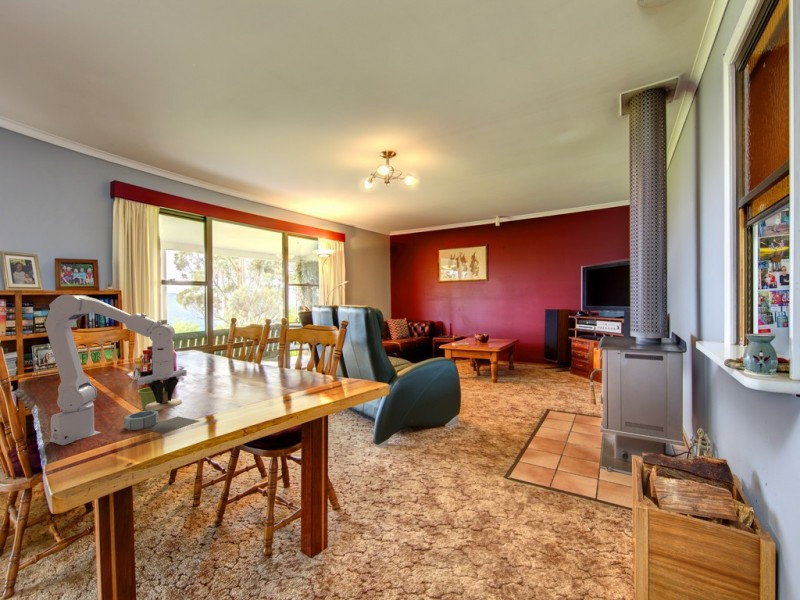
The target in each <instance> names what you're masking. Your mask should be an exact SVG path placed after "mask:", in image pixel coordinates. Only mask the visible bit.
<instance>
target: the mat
mask: <svg viewBox="0 0 800 600" xmlns="http://www.w3.org/2000/svg"><path fill="white" fill-rule="evenodd" d="M199 422H200V420H198V419H193V418H188V417H182V416H175V417H171V418H169V419H165V420H162V421H158V422H157V423H156V424H155V425H153V426H150V427H147V428H142V429H141V430H146V431H150V432H154V433H158V434H163V435H164V434H168V433H171V432H173V431H177V430H179V429H182V428H184V427H188V426H190V425H193V424H196V423H199Z"/></svg>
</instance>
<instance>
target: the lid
mask: <svg viewBox="0 0 800 600" xmlns="http://www.w3.org/2000/svg"><path fill="white" fill-rule="evenodd" d="M182 403H183V401H182V399H178V398H171V401H168V392H163V402H162V403H156V402H152V403H150V404H147V405H146V406H145V408H146V409H147V410H160V409H163V410H166V409H171V408H174V407H178V406H180V405H181V404H182Z"/></svg>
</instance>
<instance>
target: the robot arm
mask: <svg viewBox="0 0 800 600" xmlns="http://www.w3.org/2000/svg"><path fill="white" fill-rule="evenodd" d="M87 314H97V315H99V316H103V317H106V318H109V319H111V320H115V321H117V322H120V323H123V324H124V325H125V328H126V330H129V331H131V332H134V333H136V334H138V335H141V336H144V337H146V338H149V339H150V340H151V341H152V351H151V352H152V374H150V375H146V376H143V377H138V378H137V385H138V386H145V385H146V384H147V385H148V387H150V388H151V390H152V392H153V394H154V396H155V399H156V403H162V402H163V388H164V389H165V392H168V401H171V399H173V394H174V392H175V388H176V387H177V384H178V383H179V380H180V377H185V376H187V375H188V374H187V369H179V370H174V369H175V367H174V342H173V338H174V337H175V333H176V331H175V329H174V327H173V326H172V325H170V324H169V323H162V321H161V320H155V319H152V318H150V317H148V315H147V314H146V313H144V312H143V313H134V314H130V313H128V312H126V311H123V310H122V309H119V308H117V307H115V306H113V305H110V304H109V303H107V302H104V301H102V300H99V299H97V298H94V297H90V296H88V295H85V294H77V295H76V294H73V295H72V294H62V295H59V296H57V297H56V298H55V299H54V300H53V301H52V302H50V303H49V311H48V314H47V317H46V319H45V323H44V327H45V331H46V334H47V338H48V340H49V343H50V347H51V350H52V354H53V358H54V361H55V364H56V365H55V366H56V368H57V372H58V374H59V378H60V383H59V385H58V388H57V392H58V396H57V401H56V403H57V406H58V408H59V409H60V410H61V411H60V412H58V413H55V414H52V416H51V418H50V420H49V421H50V439H49V442H51V443H53V444H54V443H55V444H57V445H60V446H66V445H68V444H69V445H70V444H72V443H75V442H76V441H79V440H81V439H85V438H88V437H91V436H95V435H97V434H101V431H97V430H95V404H94V400H95V399H96V397H97V396H98V389H97V388H96V387H95V385H93V384H92V382H91V379H90V378H89V377H87V375H86V374H85V373H84V369H83V365H82V363H81V362H82V361H81V359H80V355H79V351H78V348H77V344H76V341H75V338H74V334H73V330H72V326H73V325H74V324H75V322H77V321H78V320H79V319H80V318H83V316H85V315H87Z"/></svg>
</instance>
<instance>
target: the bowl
mask: <svg viewBox="0 0 800 600" xmlns="http://www.w3.org/2000/svg"><path fill="white" fill-rule="evenodd" d="M159 412H160V411H154V410H149V411H143V410H142V411H137V412H134V413H133V412H132V413H129V414H127V415H126V416H125V417H124V418H123V419H124V421H123V422H124V429H126V430H128V431H135V430H143V429H142V428H147V427H150V426H153V425H155V424H156V423H159V422H160V421H159V419H160V418H159V417H160V416H159V415H160V414H159Z"/></svg>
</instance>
